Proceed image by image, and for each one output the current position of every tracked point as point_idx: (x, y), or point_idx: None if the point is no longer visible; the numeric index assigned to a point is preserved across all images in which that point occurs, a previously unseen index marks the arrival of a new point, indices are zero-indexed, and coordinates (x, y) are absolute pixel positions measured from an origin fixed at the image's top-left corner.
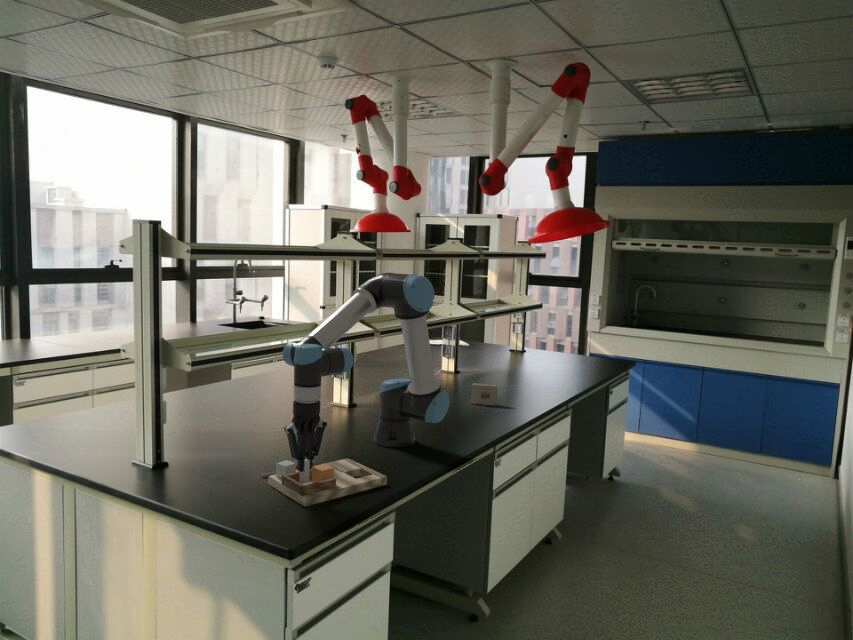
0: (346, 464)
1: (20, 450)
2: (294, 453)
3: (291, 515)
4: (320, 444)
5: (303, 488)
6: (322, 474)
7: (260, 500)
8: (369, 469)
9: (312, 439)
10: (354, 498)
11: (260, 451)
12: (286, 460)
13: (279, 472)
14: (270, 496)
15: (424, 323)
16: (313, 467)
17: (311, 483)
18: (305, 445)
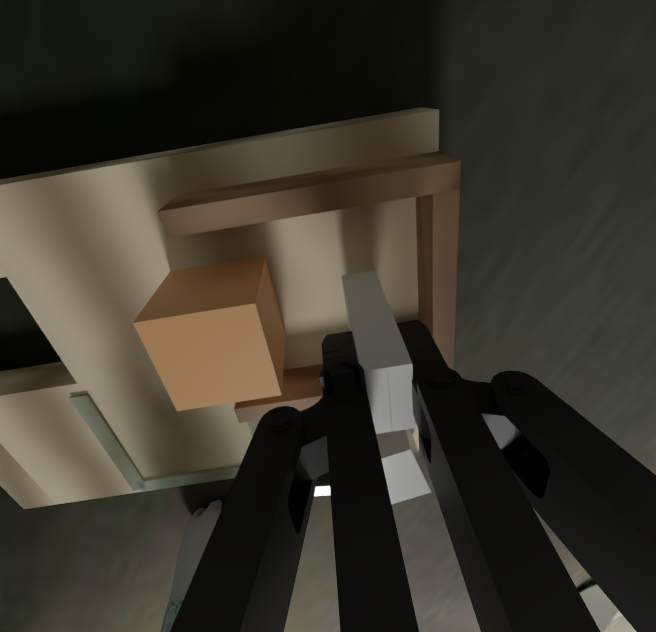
0: (42, 458)
1: None
2: (585, 429)
3: (563, 3)
4: (218, 527)
5: (447, 160)
6: (244, 291)
7: (551, 289)
8: None
9: (365, 623)
10: (76, 83)
11: (317, 610)
12: None
13: (413, 442)
14: (489, 312)
15: None
16: (279, 381)
17: (367, 202)
18: (474, 519)
